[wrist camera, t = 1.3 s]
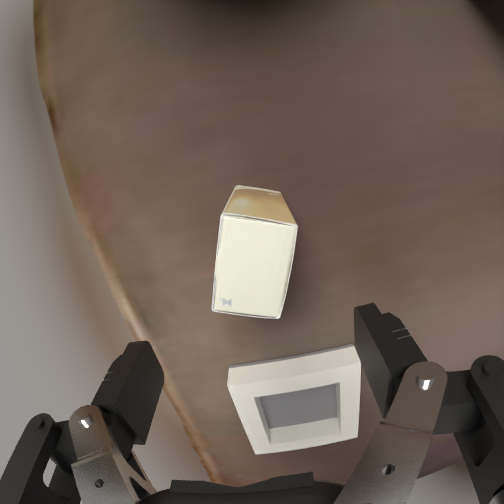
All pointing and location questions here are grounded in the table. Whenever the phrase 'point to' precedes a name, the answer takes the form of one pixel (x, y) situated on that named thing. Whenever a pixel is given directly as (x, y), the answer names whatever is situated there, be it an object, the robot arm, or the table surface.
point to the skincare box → (254, 254)
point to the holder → (298, 399)
